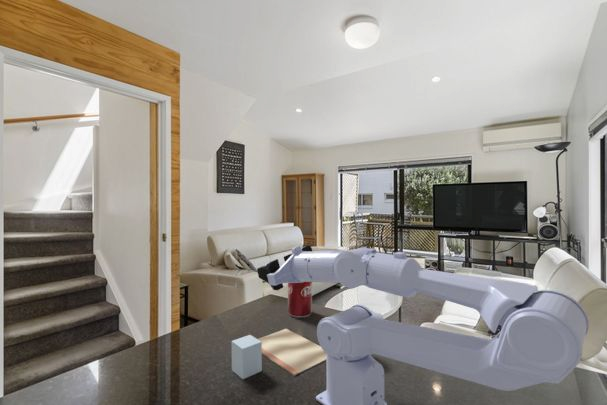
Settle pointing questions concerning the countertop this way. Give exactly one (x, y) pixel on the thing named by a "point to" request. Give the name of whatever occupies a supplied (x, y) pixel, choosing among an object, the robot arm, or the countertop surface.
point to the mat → (291, 351)
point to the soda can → (300, 299)
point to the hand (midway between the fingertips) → (273, 266)
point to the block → (246, 356)
